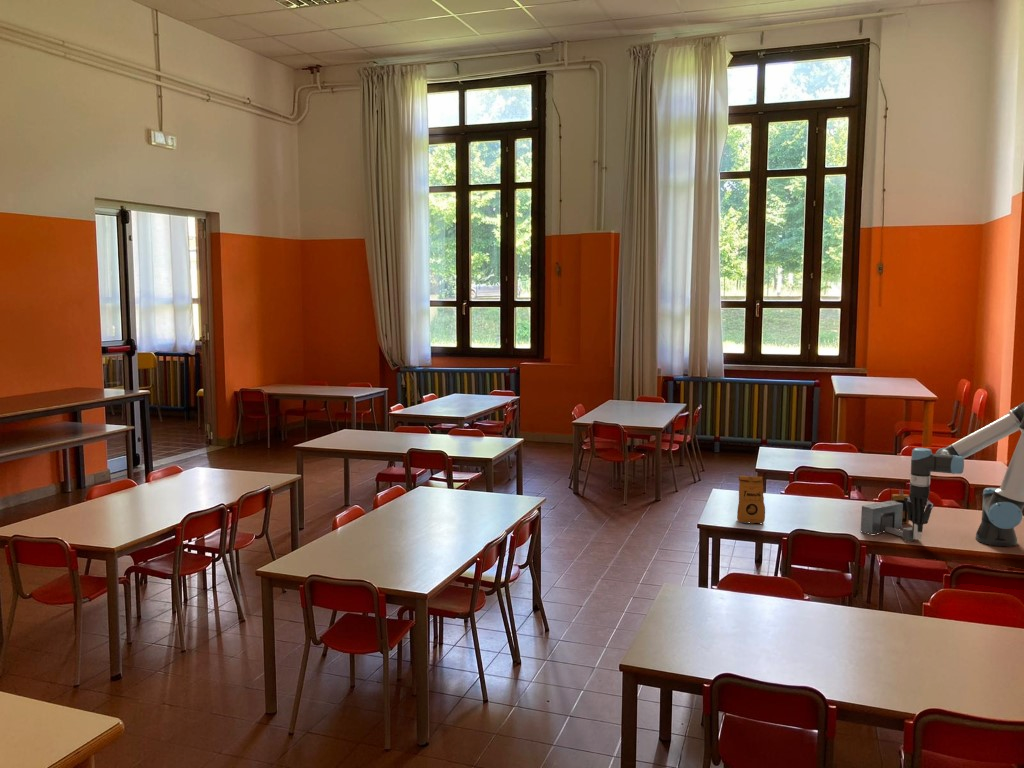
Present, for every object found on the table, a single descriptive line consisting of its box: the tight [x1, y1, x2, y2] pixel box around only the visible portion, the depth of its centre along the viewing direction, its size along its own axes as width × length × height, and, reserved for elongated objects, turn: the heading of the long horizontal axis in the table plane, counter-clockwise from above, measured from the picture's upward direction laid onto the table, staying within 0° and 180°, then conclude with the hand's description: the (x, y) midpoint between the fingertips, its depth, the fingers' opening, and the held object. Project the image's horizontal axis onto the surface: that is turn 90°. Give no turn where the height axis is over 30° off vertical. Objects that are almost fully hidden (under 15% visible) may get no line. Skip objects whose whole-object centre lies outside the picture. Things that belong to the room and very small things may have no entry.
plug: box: [880, 513, 919, 542], centre depth 352 cm, size 20×7×7 cm, turn 23°
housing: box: [860, 499, 903, 535], centre depth 357 cm, size 6×19×12 cm, turn 116°
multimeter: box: [889, 480, 910, 524], centre depth 372 cm, size 15×10×20 cm
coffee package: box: [736, 475, 766, 524], centre depth 371 cm, size 10×12×22 cm
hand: (916, 538), depth 342 cm, fingers closed
